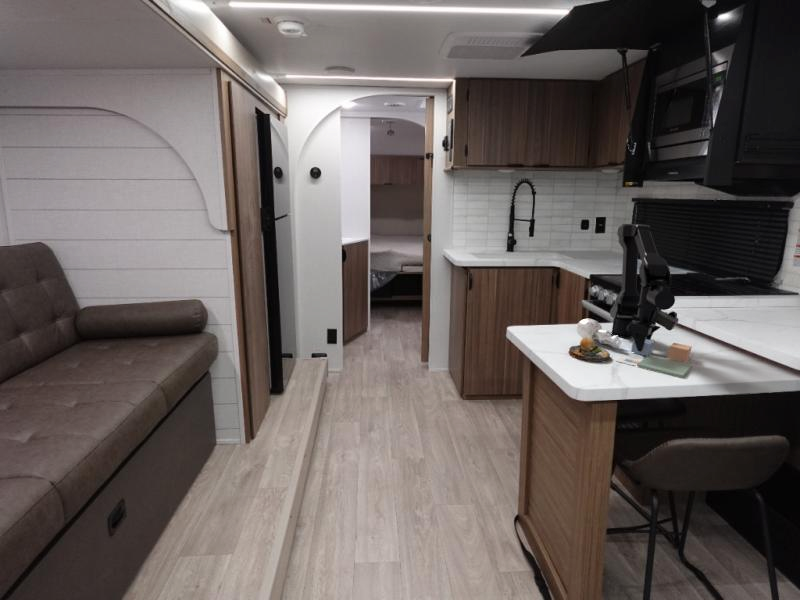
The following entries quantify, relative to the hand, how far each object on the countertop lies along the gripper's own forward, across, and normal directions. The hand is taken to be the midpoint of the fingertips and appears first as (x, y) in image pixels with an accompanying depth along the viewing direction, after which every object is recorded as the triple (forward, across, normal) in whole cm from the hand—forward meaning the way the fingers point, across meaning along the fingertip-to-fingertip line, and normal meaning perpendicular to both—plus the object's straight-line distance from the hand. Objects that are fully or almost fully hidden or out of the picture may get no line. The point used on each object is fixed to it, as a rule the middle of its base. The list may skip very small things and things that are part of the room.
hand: (642, 349), depth 158 cm
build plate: (+1, -9, -9) cm, 13 cm away
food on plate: (+2, -16, +11) cm, 19 cm away
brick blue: (+1, 0, 0) cm, 1 cm away
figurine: (+1, -1, +14) cm, 14 cm away
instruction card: (+1, -12, -1) cm, 12 cm away
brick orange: (+1, +3, -10) cm, 11 cm away
